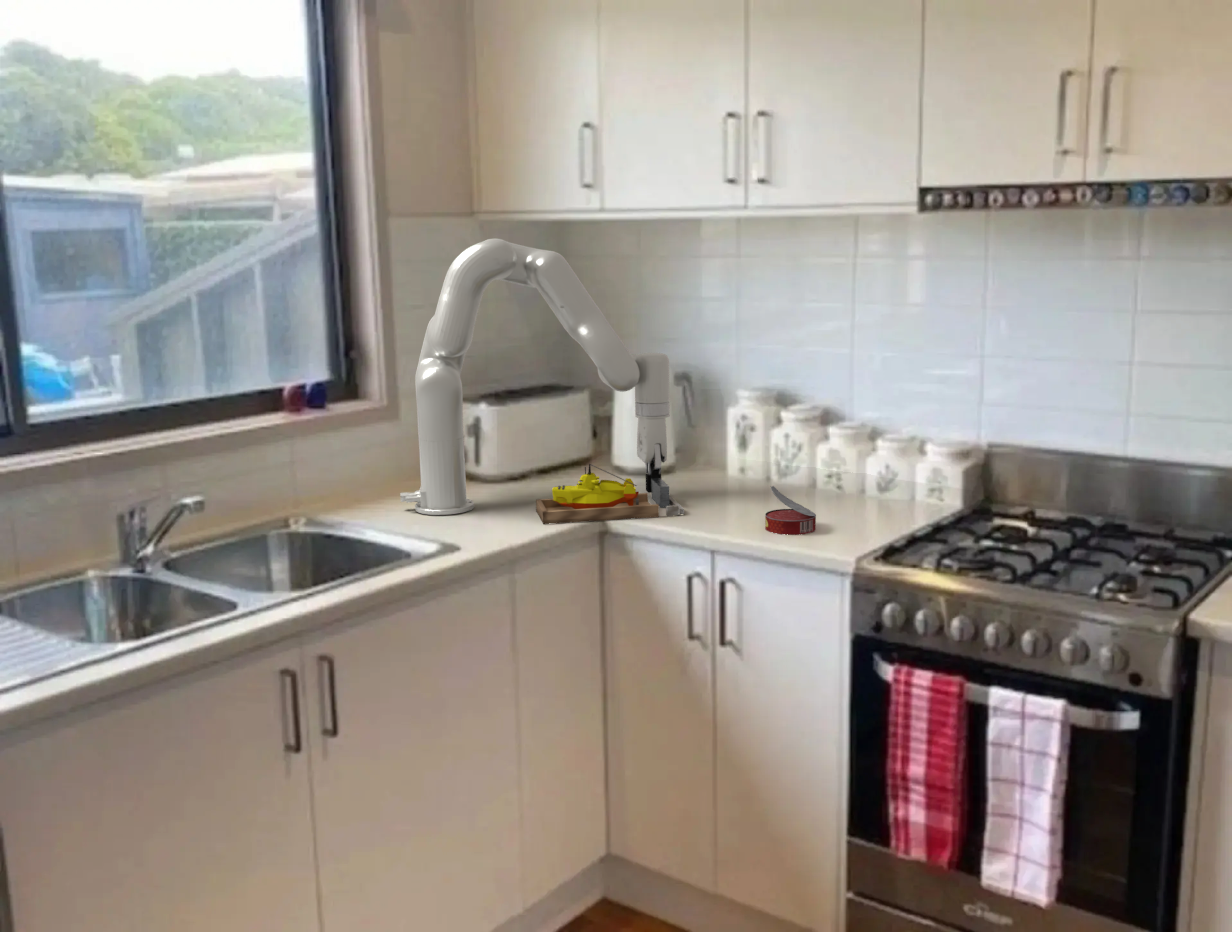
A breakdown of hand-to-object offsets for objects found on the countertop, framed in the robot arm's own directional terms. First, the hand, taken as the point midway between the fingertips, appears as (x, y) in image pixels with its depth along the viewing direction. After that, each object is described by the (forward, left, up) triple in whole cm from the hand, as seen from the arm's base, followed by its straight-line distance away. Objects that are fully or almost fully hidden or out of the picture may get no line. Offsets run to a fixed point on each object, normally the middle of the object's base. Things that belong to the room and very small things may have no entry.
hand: (653, 491), depth 268 cm
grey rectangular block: (0, -7, -1) cm, 7 cm away
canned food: (+20, -35, -2) cm, 40 cm away
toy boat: (-15, -13, 0) cm, 20 cm away
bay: (-12, -9, -1) cm, 15 cm away
